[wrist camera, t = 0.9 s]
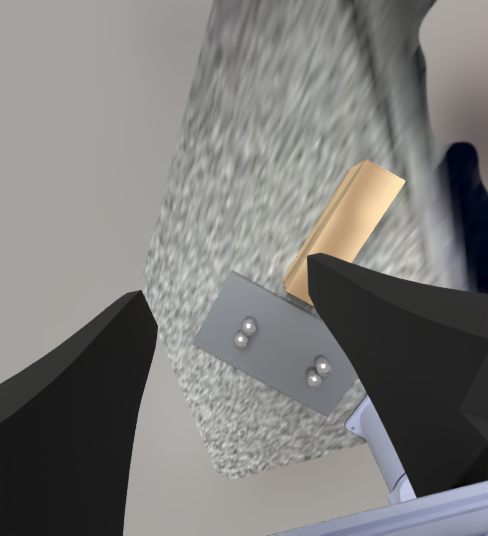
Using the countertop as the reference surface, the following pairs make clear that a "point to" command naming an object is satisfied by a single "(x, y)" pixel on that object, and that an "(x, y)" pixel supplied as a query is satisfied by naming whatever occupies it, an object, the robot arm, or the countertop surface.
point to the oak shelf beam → (345, 221)
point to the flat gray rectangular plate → (276, 344)
